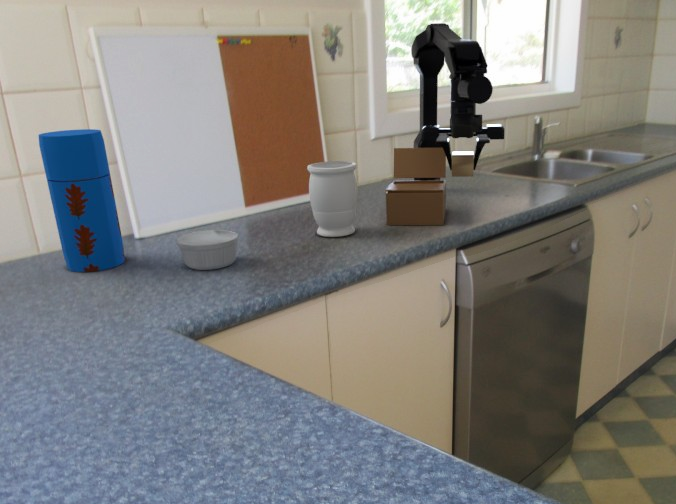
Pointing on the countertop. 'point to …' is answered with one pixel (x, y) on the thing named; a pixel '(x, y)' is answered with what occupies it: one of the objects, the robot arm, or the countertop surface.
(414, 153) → the flap
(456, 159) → the block
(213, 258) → the ramekin
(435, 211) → the carton
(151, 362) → the countertop surface
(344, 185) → the jar
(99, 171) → the thermos
